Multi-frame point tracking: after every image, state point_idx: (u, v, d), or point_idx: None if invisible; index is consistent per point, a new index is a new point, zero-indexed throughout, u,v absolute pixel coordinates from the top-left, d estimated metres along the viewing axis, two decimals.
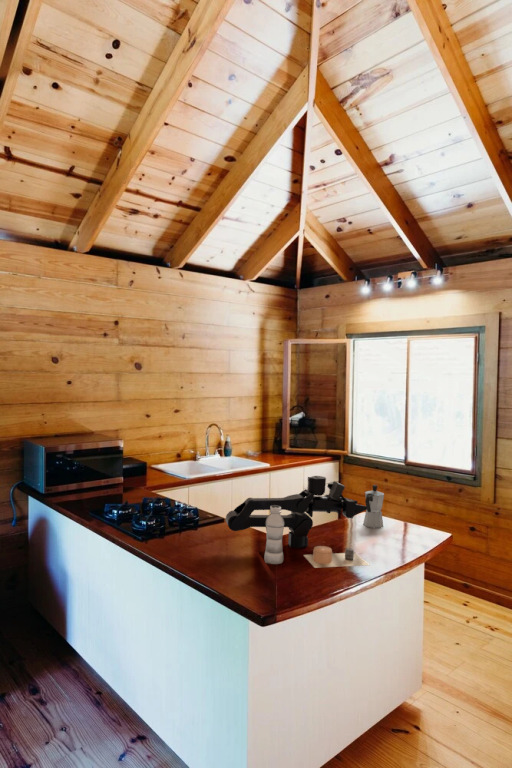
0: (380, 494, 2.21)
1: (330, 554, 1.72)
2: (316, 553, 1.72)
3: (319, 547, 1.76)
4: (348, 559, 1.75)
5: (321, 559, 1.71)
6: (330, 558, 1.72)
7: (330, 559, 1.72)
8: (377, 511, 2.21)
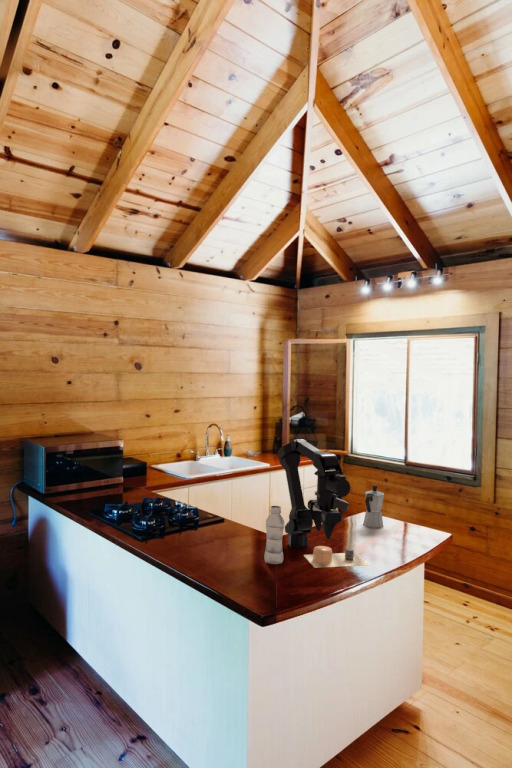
0: (380, 494, 2.21)
1: (330, 554, 1.72)
2: (316, 553, 1.72)
3: (319, 547, 1.76)
4: (348, 559, 1.75)
5: (321, 559, 1.71)
6: (330, 558, 1.72)
7: (330, 559, 1.72)
8: (377, 511, 2.21)
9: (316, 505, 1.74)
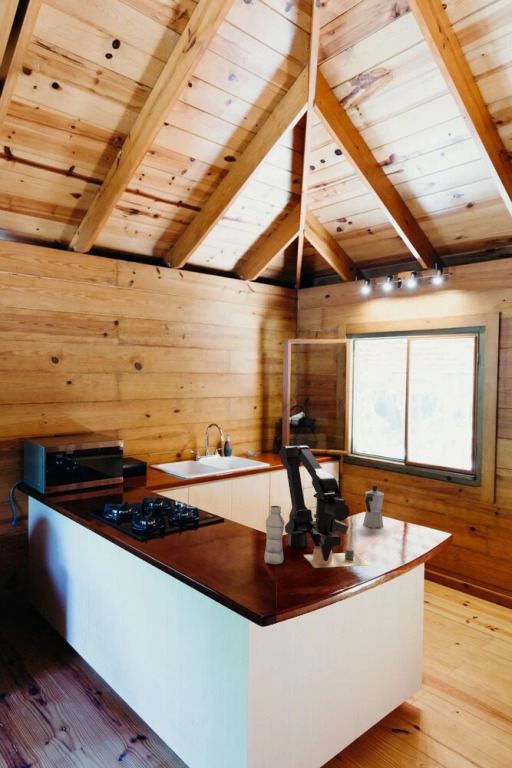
0: (380, 494, 2.21)
1: (330, 554, 1.72)
2: (316, 553, 1.72)
3: (319, 547, 1.76)
4: (348, 559, 1.75)
5: (321, 559, 1.71)
6: (330, 558, 1.72)
7: (330, 559, 1.72)
8: (377, 511, 2.21)
9: (315, 528, 1.74)
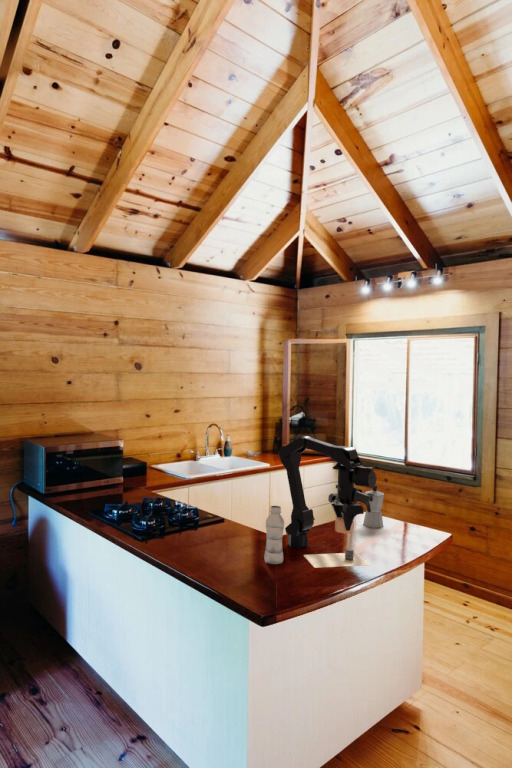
0: (380, 494, 2.21)
1: (352, 524, 1.73)
2: (338, 523, 1.73)
3: (340, 517, 1.77)
4: (348, 559, 1.75)
5: (343, 529, 1.72)
6: (352, 528, 1.74)
7: (352, 529, 1.74)
8: (377, 511, 2.21)
9: (337, 498, 1.75)
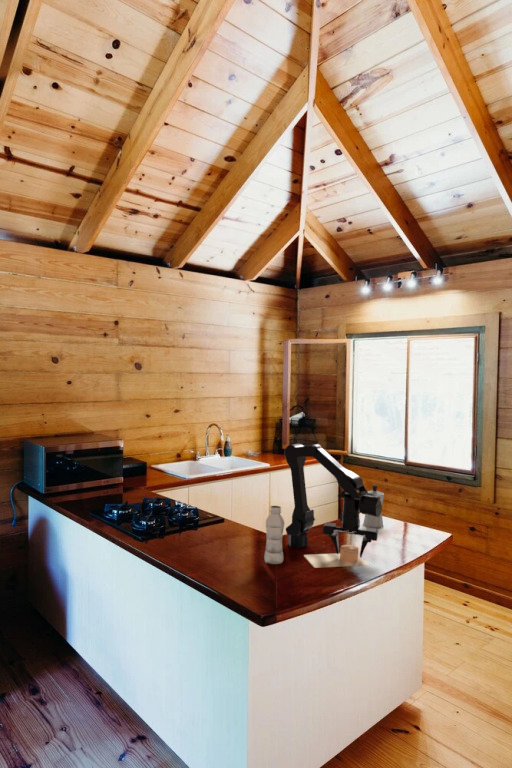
0: (380, 494, 2.21)
1: None
2: (352, 553, 1.73)
3: (343, 547, 1.76)
4: None
5: (356, 557, 1.74)
6: None
7: None
8: None
9: (348, 528, 1.74)
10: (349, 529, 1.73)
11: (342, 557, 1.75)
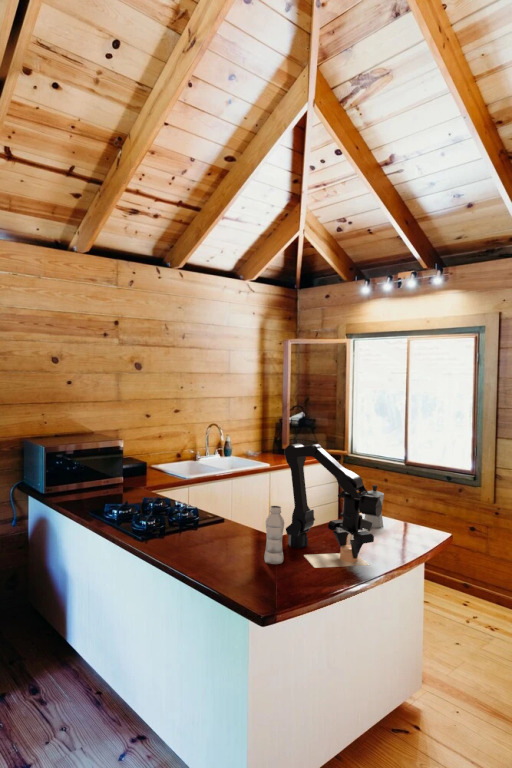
0: (380, 494, 2.21)
1: None
2: None
3: (343, 547, 1.76)
4: None
5: None
6: None
7: None
8: None
9: (343, 527, 1.75)
10: (344, 528, 1.75)
11: (342, 557, 1.75)
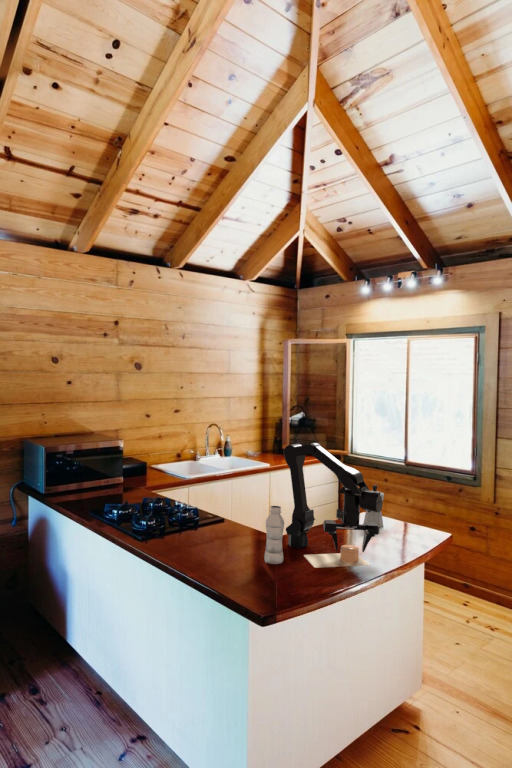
0: (380, 494, 2.21)
1: None
2: None
3: (347, 549, 1.74)
4: None
5: None
6: None
7: None
8: None
9: (351, 524, 1.73)
10: (352, 525, 1.73)
11: (350, 559, 1.73)
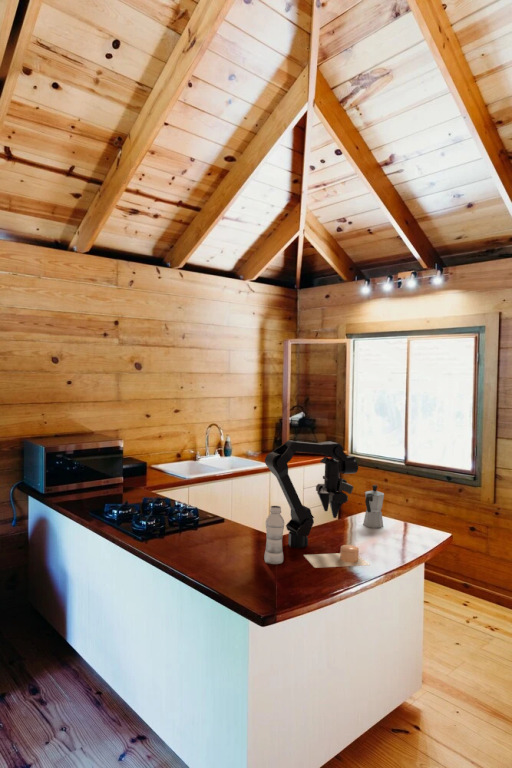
0: (380, 494, 2.21)
1: None
2: None
3: (347, 549, 1.74)
4: None
5: None
6: None
7: None
8: (377, 511, 2.21)
9: (324, 488, 1.94)
10: (324, 488, 1.94)
11: (350, 559, 1.73)
